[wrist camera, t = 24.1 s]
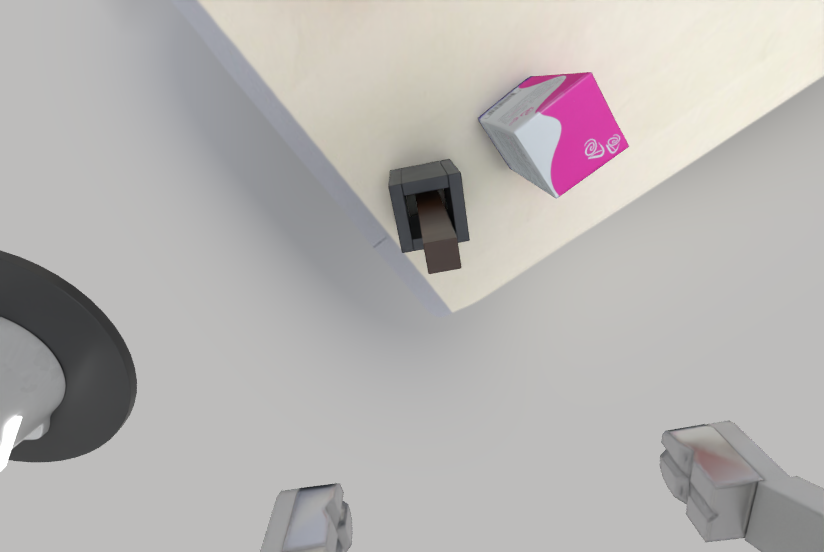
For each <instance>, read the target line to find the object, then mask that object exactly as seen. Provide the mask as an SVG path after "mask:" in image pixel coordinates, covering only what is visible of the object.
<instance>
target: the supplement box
mask: <svg viewBox="0 0 824 552" xmlns="http://www.w3.org/2000/svg"><path fill="white" fill-rule="evenodd" d="M478 120H479V122H480V123H481V125H482V126H483V128H484V130H485V131H486V133H487V134H488V136H489V137H490V139H491V140H492V142H493V143H494V145H495V146H496V148H497V149H498V151H499V153H500V154H501V156H502V157H503V159H504V160H505V162H506V163H507V165H508V166H509V168H510V169H511V170H513V171H515V172H516V173H518V174H520V175H521V176H523V177H524V178H526V179H527V180H529V181H530V182H532V183H533V184H535V185H536V186H538V187H539V188H541V189H542V190H544V191H545V192H547V193H548V194H550V195H552V196H553V197H555V198H558V197H559V196H561V195H562V194H564V193H565V192H566V191H568V190H569V189H571V188H572V187H573V186H575V185H576V184H578V183H579V182H580V181H582V180H583V179H584V178H586V177H587V176H589V175H590V174H591V173H593V172H594V171H596V170H597V169H598V168H600V167H601V166H603V165H604V164H605V163H607V162H608V161H609V160H611V159H612V158H614V157H615V156H616V155H618V154H619V153H621V152H622V151H623V150H625V149H626V148H628V147H629V145H628V143H627V141H626V139H625V137H624V135H623V133H622V132H621V130H620V128H619V126H618V124H617V123H616V121H615V119H614V117H613V115H612V113H611V111H610V109H609V107H608V105H607V102H606V101H605V99H604V97H603V94H602V92H601V91H600V89H599V87H598V85H597V82H596V80H595V78H594V77H593V74H592V73H591V72H587V73H575V74H561V75H547V76H531V77H529V78H527V79H526V80H525V81H523V82H522V83H521V84H520V85H518V86H517V87H516V88H514V89H513V90H512V91H511V92H509V93H508V94H507V95H506V96H504V97H503V98H502V99H501V100H499V101H498V102H497V103H496V104H495V105H493V106H492V107H491V108H490V109H488V110H487V111H486V112H485V113H484V114H483V115H481V116H480V117H479V118H478Z"/></svg>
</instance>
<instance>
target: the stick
mask: <svg viewBox="0 0 824 552" xmlns="http://www.w3.org/2000/svg"><path fill="white" fill-rule="evenodd" d="M415 197H416V203H417V209H418V216H419V222H420V228H421V234H422V240H423V246H424V252H425V257H426V262H427V268H428V273H429V274H432V273H438V272H443V271H449V270H454V269H460V268H461V262H460V255H459V248H458V241H457V237H456V234H455V232H454V229H453V227H452V224H451V222H450V219H449V217H448V214H447V212H446V209H445V207H444V204H443V202H442V200H441V197H440V195H439V192H438V190H433V191H428V192H423V193H418V194H415Z"/></svg>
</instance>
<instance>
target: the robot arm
mask: <svg viewBox="0 0 824 552" xmlns="http://www.w3.org/2000/svg"><path fill="white" fill-rule="evenodd" d="M65 387H66V384H65V377H64V373H63V370H62V368H61V366H60V364H59V362H58V360H57V359H56V357H55V356H54V354H53V353H52V352H51V351H50V349H49V348H48V347H47V346H46V345H45V344H44V343H43V342H42V341H41V340H39V339H38V338H37V337H36V336H35V335H33V334H32V333H31V332H29V331H28V330H26V329H25V328H23V327H21V326H20V325H18V324H16V323H14V322H12V321H10V320H7V319H5V318H3V317H0V471H1V470H2V469H3V468H4V467H5V466H6V463H7V461H8V458H9V455H10V452H11V450H12V449H13V448H14V447H15V446H17V445H18V444H19V443H20V442H21V441H23V440H34V439H39V438H40V437H42V436H43V435H44V434H45V433H47V432H48V430H49V427H50V416H51V414H52V413H53V411H54V410H55V409H56V408H57V407H58V406H59V405H60V403H61V402H62V400H63V397H64V394H65ZM662 444H663V445H664V447H665V448H666V450H665V451H664V452H663V453H662V454H661V456H660V468H661V472H662V476H663V479H664V480H665V483H666V485H667V487H668V488H669V490H670V491H671V493H672V494H673V496H674V497H675V498H677V499H679V500H680V501H682V502H684V503H685V504H687V509H686V515H687V516H688V518H689V519H690V521H691V522H692V524H693V525H694V526H695V528H696V529H697V531H698V532H699V534H700V535H701V537H702V538H703V539H704V541H705V542H712V541H721V540H730V539H738V538H745V540H746V541H747V542H748V543H750V544H751V545H753V546H754V547H756V548H757V549H758V550H760V551H761V552H824V489H823V488H821V487H819V486H817V485H815V484H812V483H810V482H808V481H806V480H804V479H802V478H800V477H798V476H795V477H790V476H789V475H787V474H786V473H785V472H784V471H783V470H782V469H781V468H780V467H779V466H778V465H777V464H776V463H775V462H774V461H773V460H772V459H771V458H770V457H769V456H768V455H767V454H766V453H765V452H764V451H763V450H762V449H761V448H760V447H759V446H758V445H757V444H755V442H754V441H752V440H751V439H750V438H749V437H748V436H747V435H746V434H745V433H744V432H743V431H742V430H741V429H740V428H739V427H738V426H737V425H736V424H735V423H733V422H731V421H724V422H718V423H712V424H707V425H705V424H703V425H697V426H691V427H686V428H680V429H674V430H668V431H665V432H664V433H663V435H662ZM351 544H352V517H351V512H350V509H349V506H348V504H347V503H345V502H344V501H343V490H342V487H341V485H340V484H339V483H338V484H329V485H321V486H313V487H306V488H299V489H292V490H285V491H281V492H280V493H279V495H278V496H277V498H276V502H275V505H274V508H273V511H272V514H271V518H270V521H269V524H268V528H267V531H266V534H265V538H264V541H263V544H262V547H261V550H260V552H347V551H348V549H349V548H350V546H351Z"/></svg>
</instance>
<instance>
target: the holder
mask: <svg viewBox="0 0 824 552" xmlns="http://www.w3.org/2000/svg"><path fill="white" fill-rule="evenodd" d="M439 189H444V195H445V201H446V208H447V209H446V212H447V214H448V217H449V219H450V222H451V224H452V227H453V229H454V232H455V234H456V237H457V241H458V243H459V242H465V241H469V240H470V239H469V232H468V224H467V217H466V209H465V202H464V194H463V187H462V179H461V173H460V171H459V170H458V169H457V168H456V166H455V165H454V164H453V163H452V161H451V160H450V159H447V160H442V161H440V162H439V161H436V162H431V163H426V164H421V165H416V166H411V167H406V168H401V169H395V170H390V177H389V191H390V196H391V201H392V206H393V211H394V215H395V220H396V225H397V230H398V235H399V239H400V244H401V249H402V253H405V252H411V251H416V250H422V249H424V246H423V240H422V234H421V228H420V222H419V216H418V215H413V216H410V214H409V209H408V204H407V199H406V196H407V195H412V194H418V193H423V192H428V191H433V190H439Z"/></svg>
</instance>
